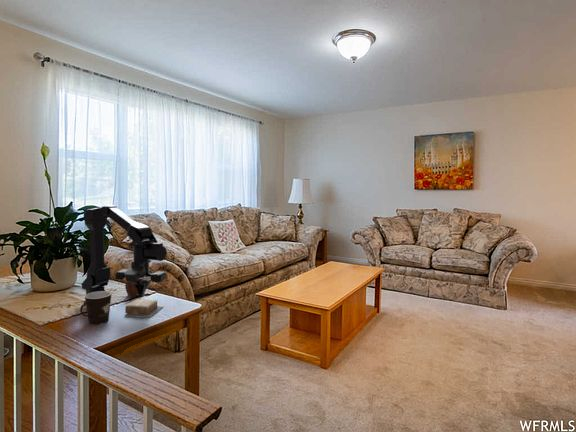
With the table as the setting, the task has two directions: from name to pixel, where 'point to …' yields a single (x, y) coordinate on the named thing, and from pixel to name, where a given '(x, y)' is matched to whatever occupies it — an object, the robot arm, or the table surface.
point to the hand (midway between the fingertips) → (141, 296)
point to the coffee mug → (97, 307)
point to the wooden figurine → (131, 289)
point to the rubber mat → (146, 315)
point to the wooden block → (141, 307)
